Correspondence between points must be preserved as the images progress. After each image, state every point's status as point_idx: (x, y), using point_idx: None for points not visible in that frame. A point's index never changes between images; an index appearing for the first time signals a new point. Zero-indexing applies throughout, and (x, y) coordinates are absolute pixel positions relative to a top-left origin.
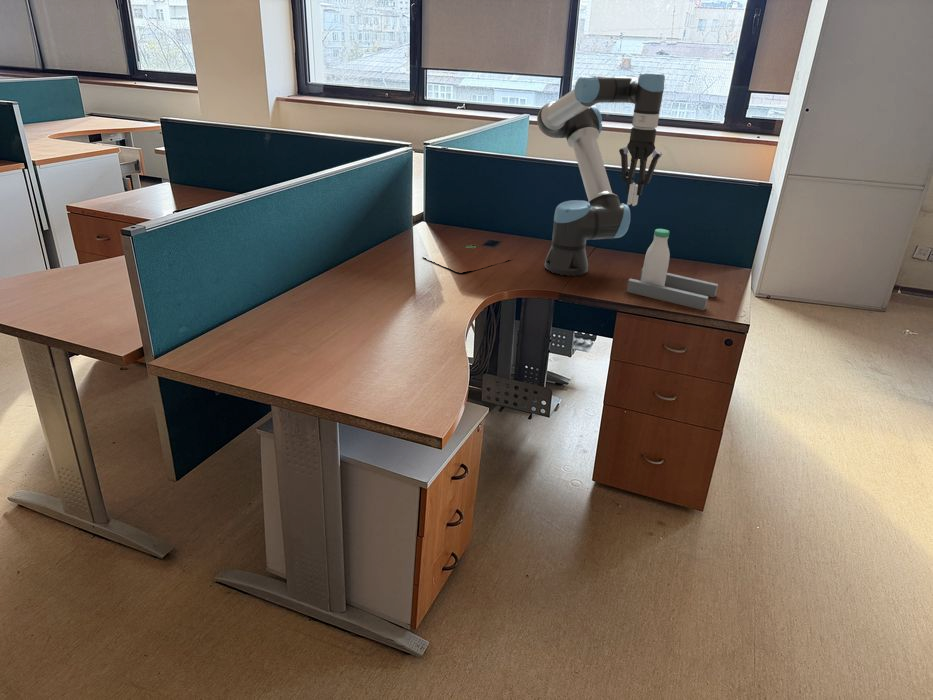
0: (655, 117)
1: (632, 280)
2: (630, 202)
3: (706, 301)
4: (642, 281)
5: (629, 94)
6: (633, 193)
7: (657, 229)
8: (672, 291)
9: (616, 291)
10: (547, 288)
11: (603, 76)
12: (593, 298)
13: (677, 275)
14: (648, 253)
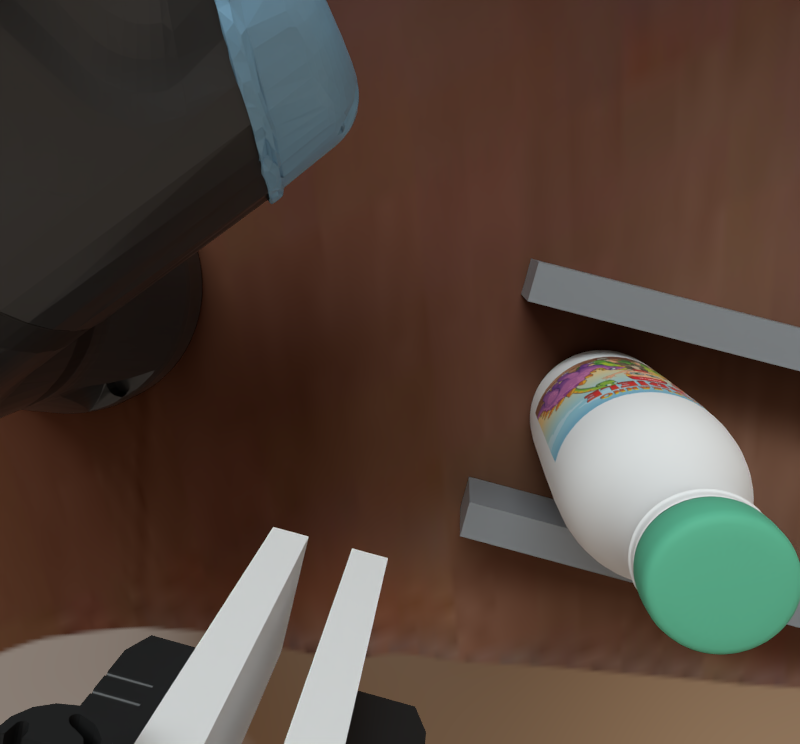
0: None
1: (483, 531)
2: (281, 636)
3: None
4: (543, 525)
5: None
6: (263, 634)
7: (672, 567)
8: None
9: (407, 521)
10: (71, 604)
11: None
12: (308, 651)
13: (773, 330)
14: (578, 542)
